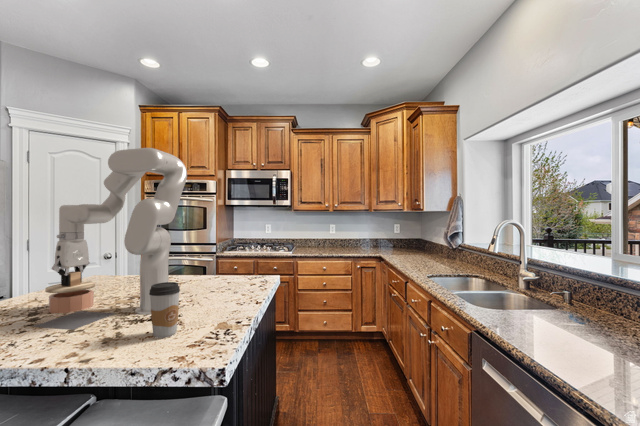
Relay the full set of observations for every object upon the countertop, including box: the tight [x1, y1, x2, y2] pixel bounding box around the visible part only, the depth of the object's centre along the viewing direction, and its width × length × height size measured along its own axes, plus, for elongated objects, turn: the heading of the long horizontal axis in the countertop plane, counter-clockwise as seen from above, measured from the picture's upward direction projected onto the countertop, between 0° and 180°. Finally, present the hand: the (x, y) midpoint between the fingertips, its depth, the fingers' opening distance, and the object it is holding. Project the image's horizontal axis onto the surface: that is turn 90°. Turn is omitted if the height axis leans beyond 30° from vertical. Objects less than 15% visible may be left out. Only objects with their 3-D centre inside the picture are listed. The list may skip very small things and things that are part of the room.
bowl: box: [48, 289, 95, 314], centre depth 118 cm, size 13×13×6 cm
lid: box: [44, 271, 97, 294], centre depth 118 cm, size 15×15×6 cm
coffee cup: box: [149, 281, 181, 339], centre depth 93 cm, size 8×8×15 cm
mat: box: [31, 310, 117, 331], centre depth 105 cm, size 16×16×1 cm
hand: (71, 283), depth 118 cm, fingers closed on lid, 4 cm apart
